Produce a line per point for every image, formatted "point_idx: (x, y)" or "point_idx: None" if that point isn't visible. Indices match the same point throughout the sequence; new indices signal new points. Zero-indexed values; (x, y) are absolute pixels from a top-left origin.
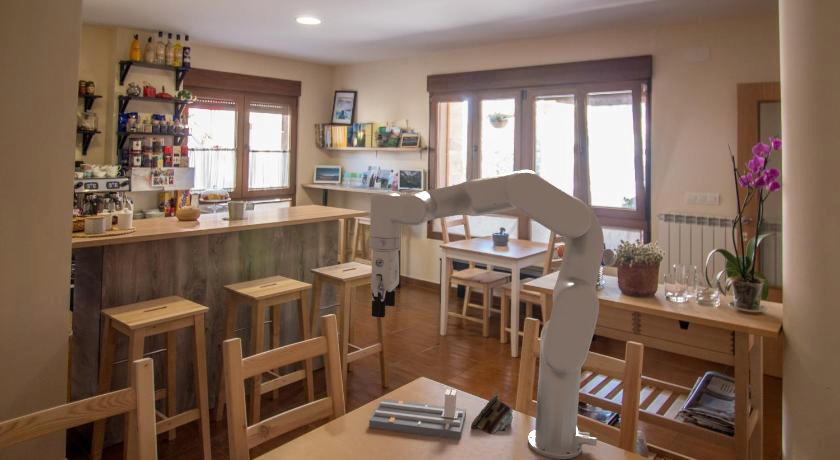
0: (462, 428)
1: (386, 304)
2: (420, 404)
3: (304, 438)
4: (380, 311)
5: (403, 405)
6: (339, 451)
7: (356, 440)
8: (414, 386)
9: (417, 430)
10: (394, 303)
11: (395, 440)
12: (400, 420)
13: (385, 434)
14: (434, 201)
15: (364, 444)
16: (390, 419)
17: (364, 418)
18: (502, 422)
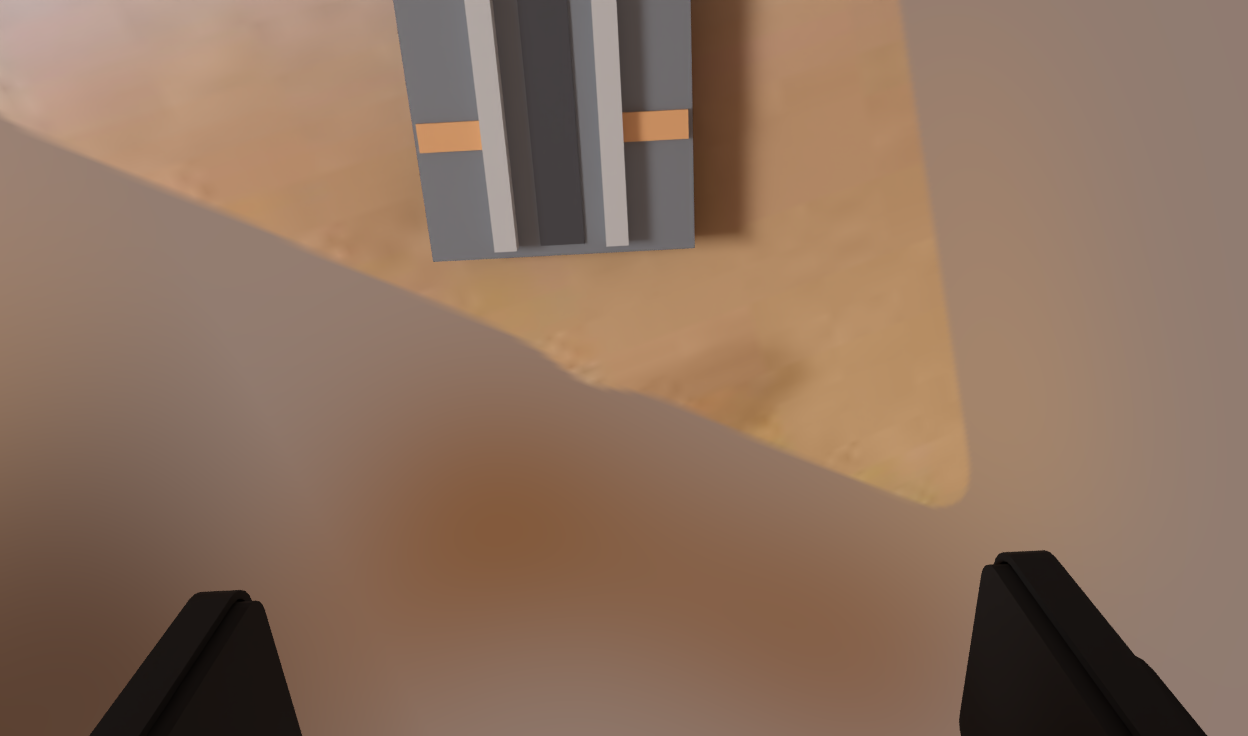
0: None
1: (285, 724)
2: (403, 3)
3: (854, 471)
4: (1165, 691)
5: (494, 102)
6: (934, 293)
7: (825, 254)
8: (104, 137)
9: None
10: (218, 620)
11: (783, 57)
12: (648, 73)
13: (735, 131)
14: None
15: (854, 204)
16: (664, 134)
17: (605, 292)
18: None
